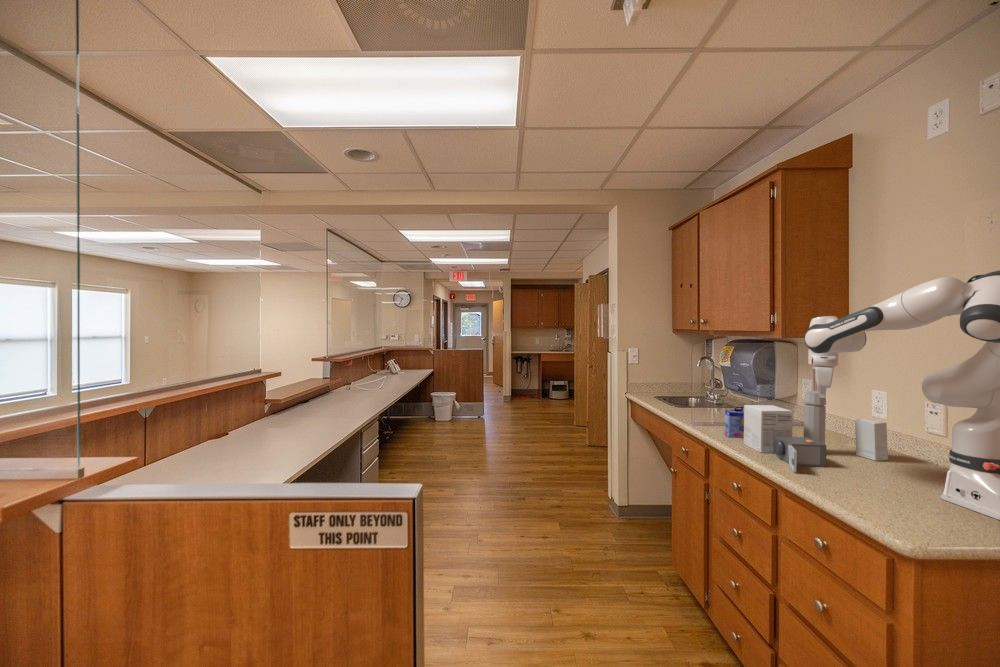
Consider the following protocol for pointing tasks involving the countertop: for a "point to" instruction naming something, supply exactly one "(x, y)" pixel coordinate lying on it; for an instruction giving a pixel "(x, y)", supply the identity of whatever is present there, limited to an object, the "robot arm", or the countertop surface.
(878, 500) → the countertop surface
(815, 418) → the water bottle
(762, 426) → the supplement box
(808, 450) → the camera housing
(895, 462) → the countertop surface
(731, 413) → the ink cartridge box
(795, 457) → the side door
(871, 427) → the skincare box
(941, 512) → the countertop surface
